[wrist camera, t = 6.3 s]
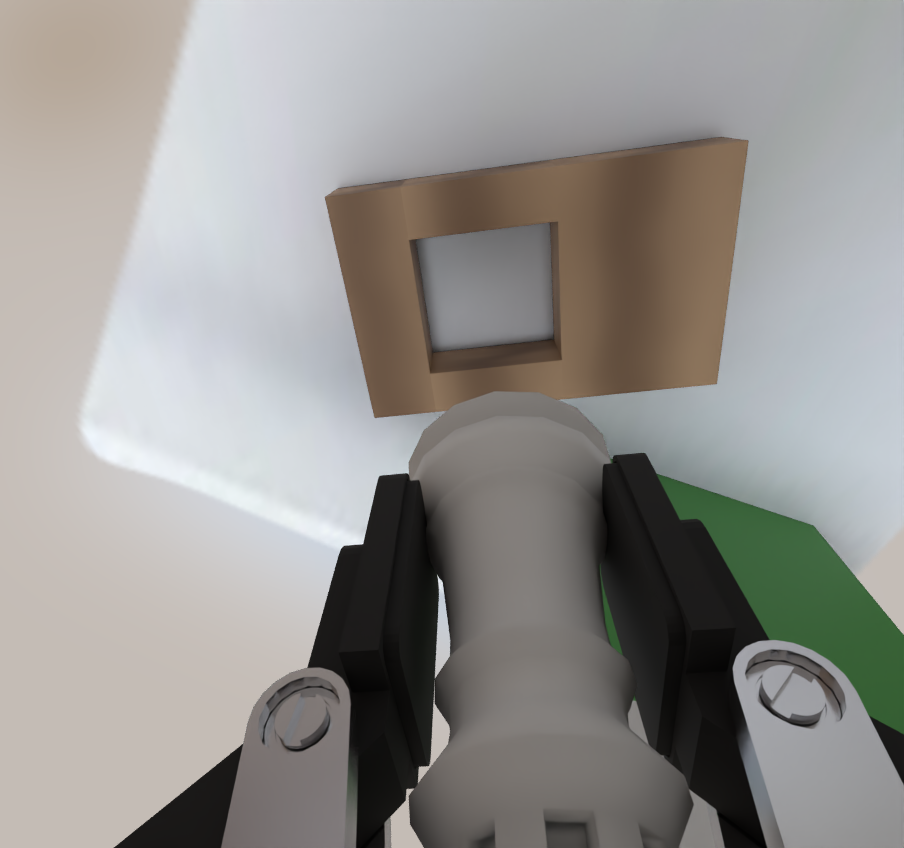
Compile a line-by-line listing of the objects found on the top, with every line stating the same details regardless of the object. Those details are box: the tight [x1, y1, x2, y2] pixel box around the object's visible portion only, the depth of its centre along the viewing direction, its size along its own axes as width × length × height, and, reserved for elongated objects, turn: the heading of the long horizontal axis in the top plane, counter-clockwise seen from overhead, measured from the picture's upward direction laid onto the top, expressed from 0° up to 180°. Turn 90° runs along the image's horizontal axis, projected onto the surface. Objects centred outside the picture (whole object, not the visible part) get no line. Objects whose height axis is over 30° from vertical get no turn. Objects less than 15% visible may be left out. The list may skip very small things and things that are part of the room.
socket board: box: [325, 137, 748, 418], centre depth 24 cm, size 16×10×2 cm, turn 97°
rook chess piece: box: [409, 391, 694, 848], centre depth 9 cm, size 4×4×8 cm
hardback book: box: [599, 458, 904, 848], centre depth 22 cm, size 18×7×24 cm, turn 70°
